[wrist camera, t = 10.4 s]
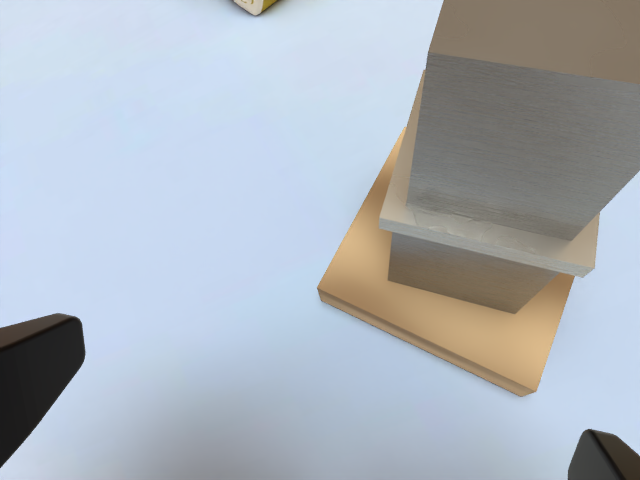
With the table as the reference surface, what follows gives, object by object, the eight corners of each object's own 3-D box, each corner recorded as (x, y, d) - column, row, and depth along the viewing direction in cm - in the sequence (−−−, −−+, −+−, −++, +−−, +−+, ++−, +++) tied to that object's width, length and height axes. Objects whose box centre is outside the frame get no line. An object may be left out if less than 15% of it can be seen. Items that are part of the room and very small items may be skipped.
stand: (521, 396, 20) (536, 391, 18) (321, 300, 23) (316, 287, 21) (583, 214, 23) (601, 194, 21) (402, 148, 26) (404, 126, 24)
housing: (523, 325, 19) (759, 134, 8) (376, 286, 21) (384, 72, 9) (542, 198, 22) (744, -98, 10) (409, 170, 23) (450, -119, 11)
